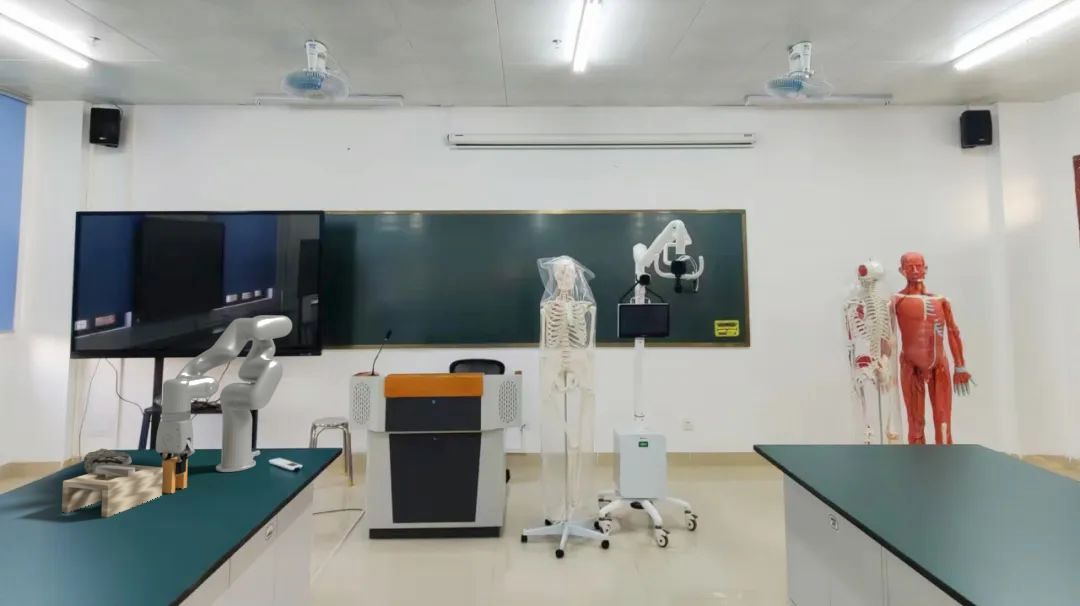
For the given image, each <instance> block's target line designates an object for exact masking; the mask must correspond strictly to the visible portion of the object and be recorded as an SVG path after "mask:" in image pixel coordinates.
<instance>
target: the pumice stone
mask: <svg viewBox="0 0 1080 606" xmlns="http://www.w3.org/2000/svg"><path fill="white" fill-rule="evenodd" d="M111 454H125V451H115V450H112V449H110V450H109V449H108V448H107V449H106V448H100V449H98V450H95V451H89V452H88V453H87V454H85V456H84V458H83V462H84V469H85V472H86V473H87V474H89V473H92V464H90V463H91V460H92V458H94V457H99V456H104V455H111Z"/></svg>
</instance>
